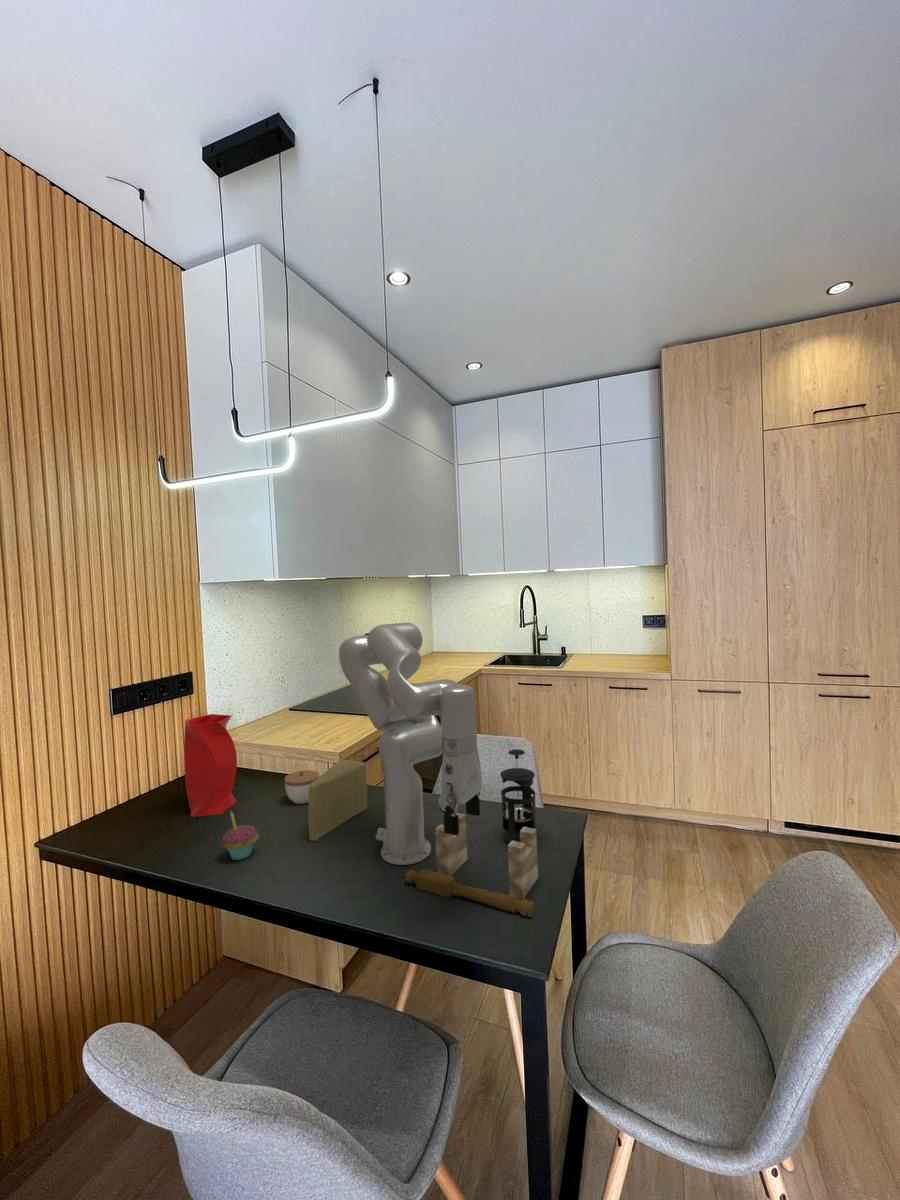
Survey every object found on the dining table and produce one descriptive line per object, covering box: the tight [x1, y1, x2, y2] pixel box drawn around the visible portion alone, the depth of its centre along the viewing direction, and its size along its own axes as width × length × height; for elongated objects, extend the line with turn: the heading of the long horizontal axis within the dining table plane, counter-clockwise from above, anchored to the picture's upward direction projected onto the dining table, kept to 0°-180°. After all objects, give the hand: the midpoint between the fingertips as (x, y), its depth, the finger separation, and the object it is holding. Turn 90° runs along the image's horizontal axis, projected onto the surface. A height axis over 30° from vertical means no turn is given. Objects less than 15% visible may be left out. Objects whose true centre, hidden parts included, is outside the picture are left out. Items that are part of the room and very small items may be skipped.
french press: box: [500, 749, 539, 845], centre depth 133 cm, size 12×9×23 cm
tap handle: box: [404, 868, 536, 918], centre depth 108 cm, size 3×3×30 cm
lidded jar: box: [283, 769, 320, 805], centre depth 163 cm, size 11×11×9 cm
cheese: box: [307, 759, 368, 842], centre depth 145 cm, size 22×10×15 cm, turn 159°
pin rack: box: [434, 812, 539, 901], centre depth 116 cm, size 21×9×11 cm, turn 61°
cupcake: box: [221, 810, 260, 861], centre depth 130 cm, size 9×8×12 cm
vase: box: [183, 713, 238, 818], centre depth 159 cm, size 15×14×28 cm
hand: (462, 823), depth 108 cm, fingers open, 9 cm apart
